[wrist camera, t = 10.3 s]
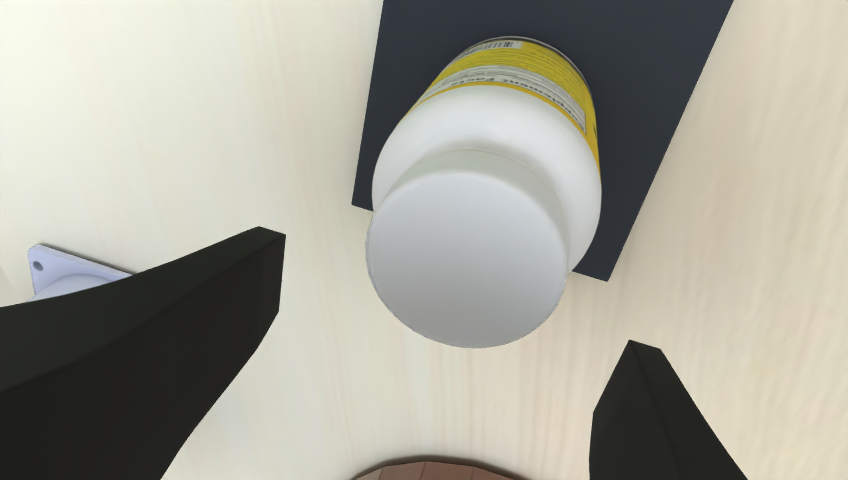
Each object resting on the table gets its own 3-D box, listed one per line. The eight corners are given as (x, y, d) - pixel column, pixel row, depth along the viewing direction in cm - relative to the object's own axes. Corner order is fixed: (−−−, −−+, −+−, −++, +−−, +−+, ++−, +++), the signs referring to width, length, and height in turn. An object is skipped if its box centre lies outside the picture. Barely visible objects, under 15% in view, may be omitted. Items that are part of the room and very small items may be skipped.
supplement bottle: (538, 218, 21) (507, 417, 13) (406, 142, 21) (289, 295, 13) (632, 87, 19) (668, 234, 10) (480, -2, 18) (392, 75, 10)
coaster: (607, 276, 22) (607, 282, 22) (354, 200, 23) (351, 205, 23) (731, -4, 17) (734, -2, 17) (400, -86, 18) (397, -86, 18)
